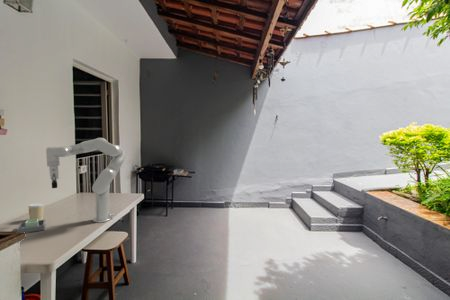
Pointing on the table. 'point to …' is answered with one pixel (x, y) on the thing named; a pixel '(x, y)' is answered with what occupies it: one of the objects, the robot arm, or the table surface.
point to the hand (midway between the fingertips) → (54, 186)
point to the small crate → (31, 223)
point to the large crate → (31, 229)
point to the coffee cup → (36, 211)
